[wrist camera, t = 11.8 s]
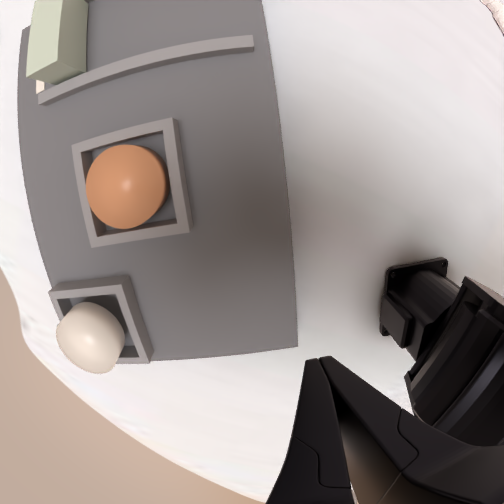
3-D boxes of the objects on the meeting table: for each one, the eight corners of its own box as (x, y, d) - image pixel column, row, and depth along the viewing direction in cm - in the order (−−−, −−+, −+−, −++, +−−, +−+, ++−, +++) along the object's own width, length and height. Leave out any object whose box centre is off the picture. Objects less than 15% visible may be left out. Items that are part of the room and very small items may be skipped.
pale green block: (88, 4, 11) (65, -16, 8) (86, 72, 13) (57, 60, 10) (60, 17, 11) (34, 1, 8) (57, 85, 13) (26, 77, 10)
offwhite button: (112, 299, 17) (100, 315, 15) (133, 356, 18) (126, 374, 16) (59, 304, 17) (46, 318, 15) (83, 355, 18) (73, 372, 16)
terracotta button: (164, 137, 15) (154, 136, 13) (175, 214, 17) (168, 221, 15) (95, 154, 15) (80, 156, 13) (108, 225, 17) (95, 234, 15)
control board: (251, -28, 13) (254, -54, 10) (293, 331, 22) (301, 359, 19) (35, 35, 13) (12, 25, 9) (92, 347, 22) (77, 371, 19)
